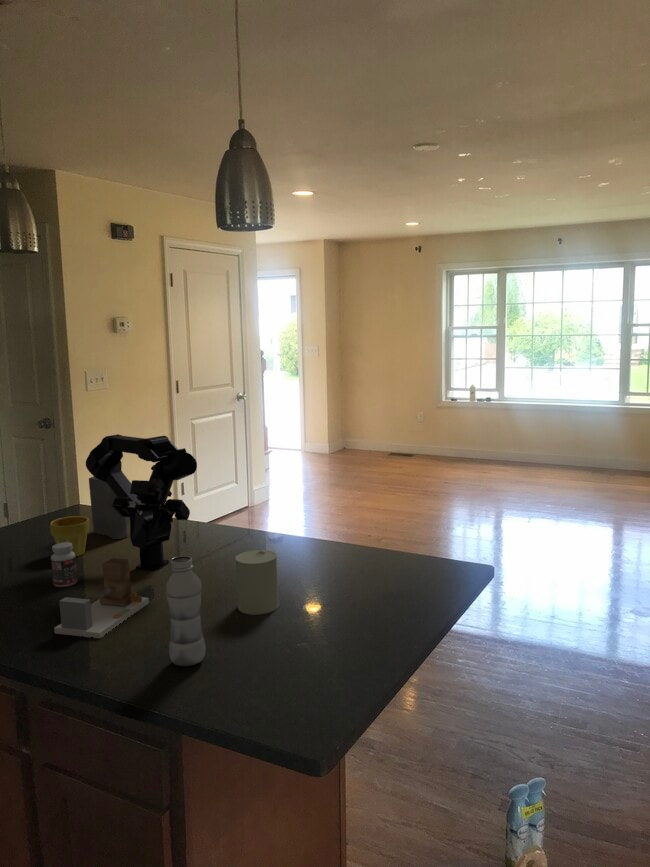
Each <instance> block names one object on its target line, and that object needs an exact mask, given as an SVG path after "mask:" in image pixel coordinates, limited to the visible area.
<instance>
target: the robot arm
mask: <svg viewBox="0 0 650 867" xmlns="http://www.w3.org/2000/svg"><path fill="white" fill-rule="evenodd" d="M124 453H126V454H133V455H136V456H137V458H139V459H140V460H143V461H146V462H152V463H155V464H153V465H151V467H150V470H151V474H150V477H149V479H148V480H141V479H138V480H136V479H135V480H134V479H132V480H131V481H130V479H128V477H127V476H126V475H125V473H124V472H123V471H122V461H121V460H122V458H123V457H124ZM85 468H86V469H87V471H88V473H90V474H91V475H92V477H95V478H97V479H99V480H101V481H104V482H106V483H107V484H108V485H109V486H110V488H111V489H112V490H113V492H114V493H115V494H116V495H117V497H116V498H115V499H114V500H113V503H112V505H111V506H112V507H113V508H114V509H115V510H116V511H117V512H118V513H119V514H120V515H121V516H122V517H127V518H129V525H130V526H129V529H130V530H129V533H130V535H129V538H130V542H131V544H132V546H133V547H137V548H139V564H137V565H136V566H135V569H140V570H154V571H158V570H159V569H161V568H163V567H164V566H165V565H167V564H169V562H170V560H169V559H165V558H164V556H165V555H164V544H163V543H164V542H167V541H170V536H171V532H172V523H174V519H173V517H175V519H176V520H177V521H188V520H189V517H190V514H191V510H190V508H189V507H188V506H187V504H186V503H185V502H184V501H183V499H177V498H170V497H172V495H173V493H172V491H171V488H172V485H173V483H174V481H180V480H182V479H184V478H187V477H189V476H191V475H193V474H194V473H195V472H196V471H197V470H198V463H197V460H196V459H195V457H194V456H193V455H192V454H191V453H189V452H187V450H186V448H178V447H177V446H176V445H175V444H174V443H173V442H172V441H171V440H170V438H169V437H168V436H166V435H159V436H154V437H148V438H145V437H143V438H142V437H136V436H127V435H122V434H112V435H107V436H104V437H103V438H102V439H101V441H100V443H99V444H97V445H96V446H95V447H94V448H93V449H91V450H90V452H89V454H88V455H87V458H86V459H85ZM168 498H169V499H168Z"/></svg>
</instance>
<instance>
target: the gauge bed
mask: <svg viewBox="0 0 650 867" xmlns="http://www.w3.org/2000/svg"><path fill="white" fill-rule="evenodd" d="M141 597H142V596H141ZM149 603H150V598H149V597H144V596H143V597H142V601H141V602H130V603H129V604H127V605H126V606H118V605H108V604H100V598H99V599H97V600H95V601H94V602H91V599H88V598H79V597H78V598H77V597H66V596H65V597H63V598H62V599H60V600H59V611H60V612H59V613H60V614H59V615H60V622H61V623H60V624H58V625H57V626H54V628H53V629H54V634H57V635H65V636H66V635H67V636H73V637H75V636H76V637H82V636H83V637H85V638H91V637H93V639H100V638H101V637H102V638H104V637H105V636H106V635H107V634H109V633H110V632H111V631H113V630H114V629H115V627H116V626H117V627H118V626H120V625H121V624H123V623H124V622H125V621H126V620H128V619H129V618H130V617H132V616H133V615H135V614H136V613H138V612H139V611H140V610H142V609H143V608H144V607H145V606H147V605H148V604H149ZM134 613H135V614H134ZM131 615H132V616H131ZM128 617H129V618H128ZM127 618H128V619H127ZM124 620H125V621H124ZM123 621H124V622H123ZM120 623H121V624H120ZM119 624H120V625H119ZM113 628H114V629H113ZM112 629H113V630H112ZM109 631H110V632H109ZM108 632H109V633H108ZM106 633H107V634H106ZM105 634H106V635H105ZM104 635H105V636H104ZM102 638H101V639H102Z"/></svg>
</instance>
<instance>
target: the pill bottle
mask: <svg viewBox="0 0 650 867" xmlns="http://www.w3.org/2000/svg"><path fill="white" fill-rule="evenodd" d="M72 549H73V546H72V543H69V542H64V543H59V544H56V543H55V544H54V545H52V546H51V551H52V553H53V554H52V555H51V556H50V563H51V574H52V585H54V587H57V588H66V587H71V586H73V585H75V584H76V583H77V582H78V570H77V559H76V558H77V557H75V553H74V552H72Z"/></svg>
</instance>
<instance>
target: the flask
mask: <svg viewBox="0 0 650 867" xmlns="http://www.w3.org/2000/svg"><path fill="white" fill-rule="evenodd" d="M88 486H89V495H90V496H89V498H90V507H91V518H92V519H91V520H92V530H93V534H95V533H99V534H98V535H100V534H104V535H103V536H105V535H107V536H106V537H108V536H109V537H108V538H110V537H111V538H110V539H112V540H114V539H121V538H125V537H127V536H128V537H129V528H128V517H122V516H121V515H120V514H119V513H118V512H117V511H116V510H115V509H114V508H113V507H112V506H111V505H112V503H113V500H114V499H115V498H116V497H117V495H116V494H115V493H114V492H113V490H112V489H111V488H110V486H109V485H108V484H107V483H106V482H104V481H101V480H99V479H97V478H95V477H94V476H91V477H89V478H88ZM128 537H127V538H128ZM125 539H126V538H125ZM121 540H122V539H121Z"/></svg>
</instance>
